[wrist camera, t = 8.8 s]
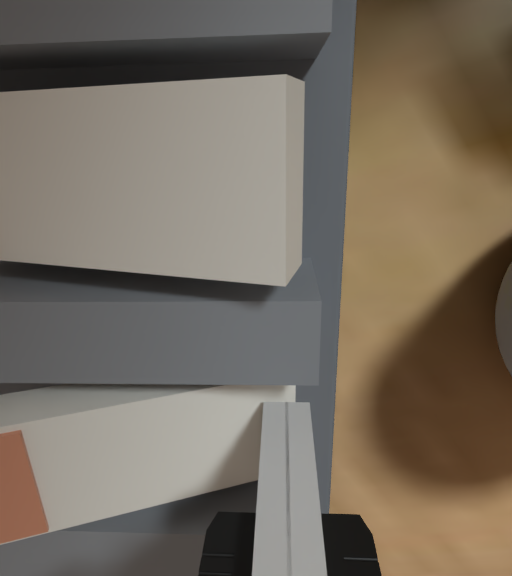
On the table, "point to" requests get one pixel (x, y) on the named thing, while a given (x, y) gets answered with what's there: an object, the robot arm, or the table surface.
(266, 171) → the rocker
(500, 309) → the teacup
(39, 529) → the block
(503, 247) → the table surface
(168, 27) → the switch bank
